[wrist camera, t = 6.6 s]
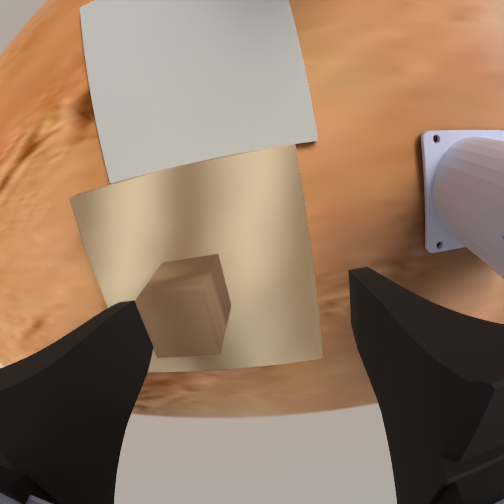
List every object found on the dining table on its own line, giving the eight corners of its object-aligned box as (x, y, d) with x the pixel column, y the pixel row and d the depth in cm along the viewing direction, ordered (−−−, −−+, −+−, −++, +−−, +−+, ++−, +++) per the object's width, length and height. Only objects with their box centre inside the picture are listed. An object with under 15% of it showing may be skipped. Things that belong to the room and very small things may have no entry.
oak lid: (294, 143, 15) (303, 153, 10) (321, 347, 19) (331, 409, 14) (78, 193, 16) (23, 221, 12) (143, 363, 21) (117, 415, 16)
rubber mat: (274, -48, 13) (274, -52, 12) (317, 140, 18) (318, 140, 17) (83, 9, 15) (79, 7, 14) (113, 182, 19) (110, 183, 19)
